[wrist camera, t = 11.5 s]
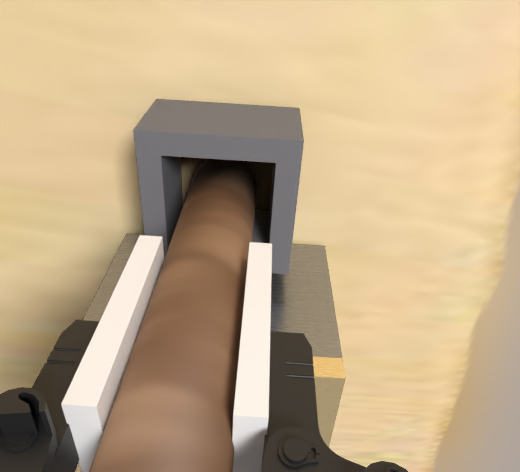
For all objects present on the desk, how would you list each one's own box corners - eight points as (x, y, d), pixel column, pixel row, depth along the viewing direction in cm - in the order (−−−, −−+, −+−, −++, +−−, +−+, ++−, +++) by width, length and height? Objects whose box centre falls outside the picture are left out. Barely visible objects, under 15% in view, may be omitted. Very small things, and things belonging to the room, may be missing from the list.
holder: (165, 220, 24) (147, 265, 21) (156, 98, 21) (133, 129, 17) (286, 228, 24) (288, 274, 21) (299, 108, 21) (303, 140, 17)
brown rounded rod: (194, 210, 22) (65, 628, 9) (192, 153, 20) (29, 560, 7) (255, 214, 22) (221, 637, 9) (258, 157, 20) (220, 572, 7)
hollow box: (148, 402, 33) (111, 538, 26) (126, 233, 25) (62, 360, 17) (297, 412, 33) (303, 549, 26) (324, 245, 25) (345, 378, 17)
